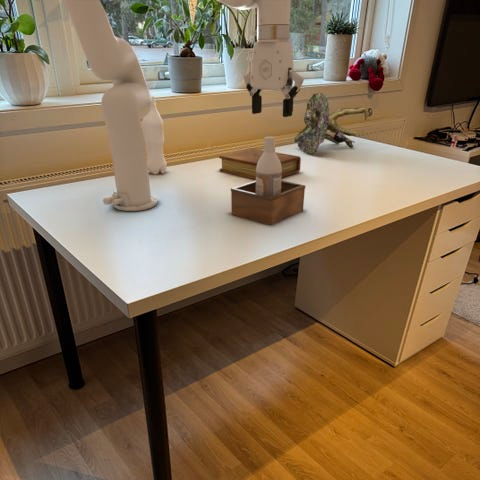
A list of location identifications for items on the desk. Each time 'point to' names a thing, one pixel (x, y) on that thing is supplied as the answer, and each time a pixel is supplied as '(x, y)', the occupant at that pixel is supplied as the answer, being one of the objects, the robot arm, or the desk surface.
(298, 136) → the tree stump
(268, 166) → the bath foam
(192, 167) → the desk surface
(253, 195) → the open wooden box
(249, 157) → the diary
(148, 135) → the water bottle
